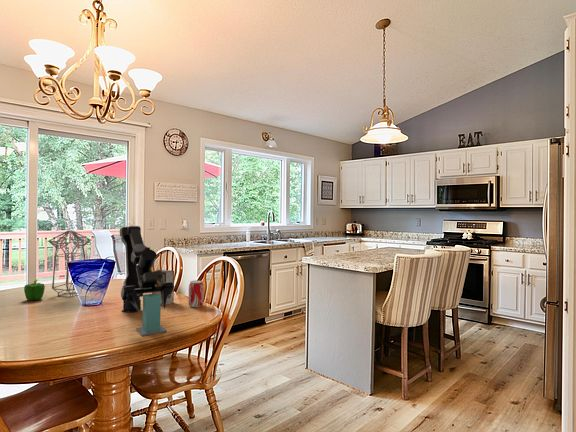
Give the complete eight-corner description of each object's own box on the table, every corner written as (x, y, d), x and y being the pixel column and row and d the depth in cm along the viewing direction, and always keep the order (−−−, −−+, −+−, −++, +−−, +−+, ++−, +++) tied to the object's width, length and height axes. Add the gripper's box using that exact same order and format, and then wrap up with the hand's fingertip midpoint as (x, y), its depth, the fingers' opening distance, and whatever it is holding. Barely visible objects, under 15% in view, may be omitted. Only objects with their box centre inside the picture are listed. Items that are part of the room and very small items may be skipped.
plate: (135, 329, 136) (135, 328, 136) (159, 325, 141) (159, 324, 141) (141, 336, 129) (141, 334, 129) (166, 331, 134) (166, 330, 134)
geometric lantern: (92, 293, 195) (93, 229, 194) (70, 300, 179) (71, 231, 178) (67, 291, 197) (68, 228, 196) (43, 298, 182) (44, 230, 181)
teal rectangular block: (142, 328, 135) (143, 294, 135) (156, 326, 138) (156, 293, 138) (146, 332, 131) (146, 297, 131) (160, 329, 134) (160, 295, 134)
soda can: (199, 308, 168) (199, 283, 168) (185, 307, 169) (186, 282, 169) (205, 304, 174) (206, 280, 174) (192, 303, 176) (193, 279, 176)
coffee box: (174, 302, 178) (175, 270, 178) (165, 305, 172) (166, 272, 172) (160, 300, 182) (160, 269, 182) (151, 303, 176) (151, 270, 176)
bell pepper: (36, 301, 173) (37, 281, 173) (20, 301, 174) (20, 281, 174) (48, 297, 182) (48, 278, 182) (32, 297, 182) (33, 278, 182)
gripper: (123, 265, 133) (129, 300, 124) (173, 262, 144) (182, 294, 135) (119, 282, 139) (124, 317, 130) (166, 278, 150) (174, 310, 141)
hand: (152, 309), depth 134 cm, fingers open, 9 cm apart
